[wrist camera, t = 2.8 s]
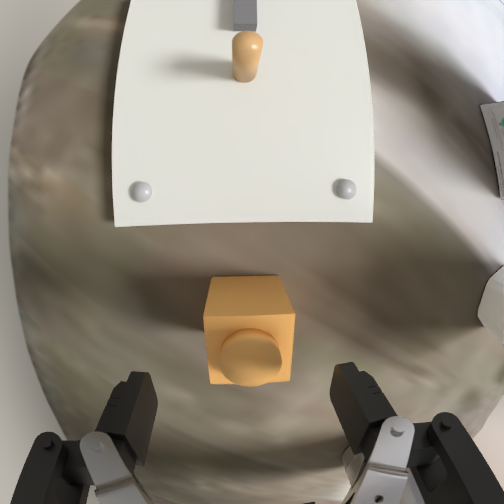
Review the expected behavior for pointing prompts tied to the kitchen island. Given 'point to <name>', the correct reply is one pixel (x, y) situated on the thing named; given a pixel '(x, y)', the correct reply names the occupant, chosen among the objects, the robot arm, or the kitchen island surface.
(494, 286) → the cup
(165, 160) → the plate
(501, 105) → the ink cartridge box
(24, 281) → the kitchen island surface
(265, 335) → the cube with dome knob
